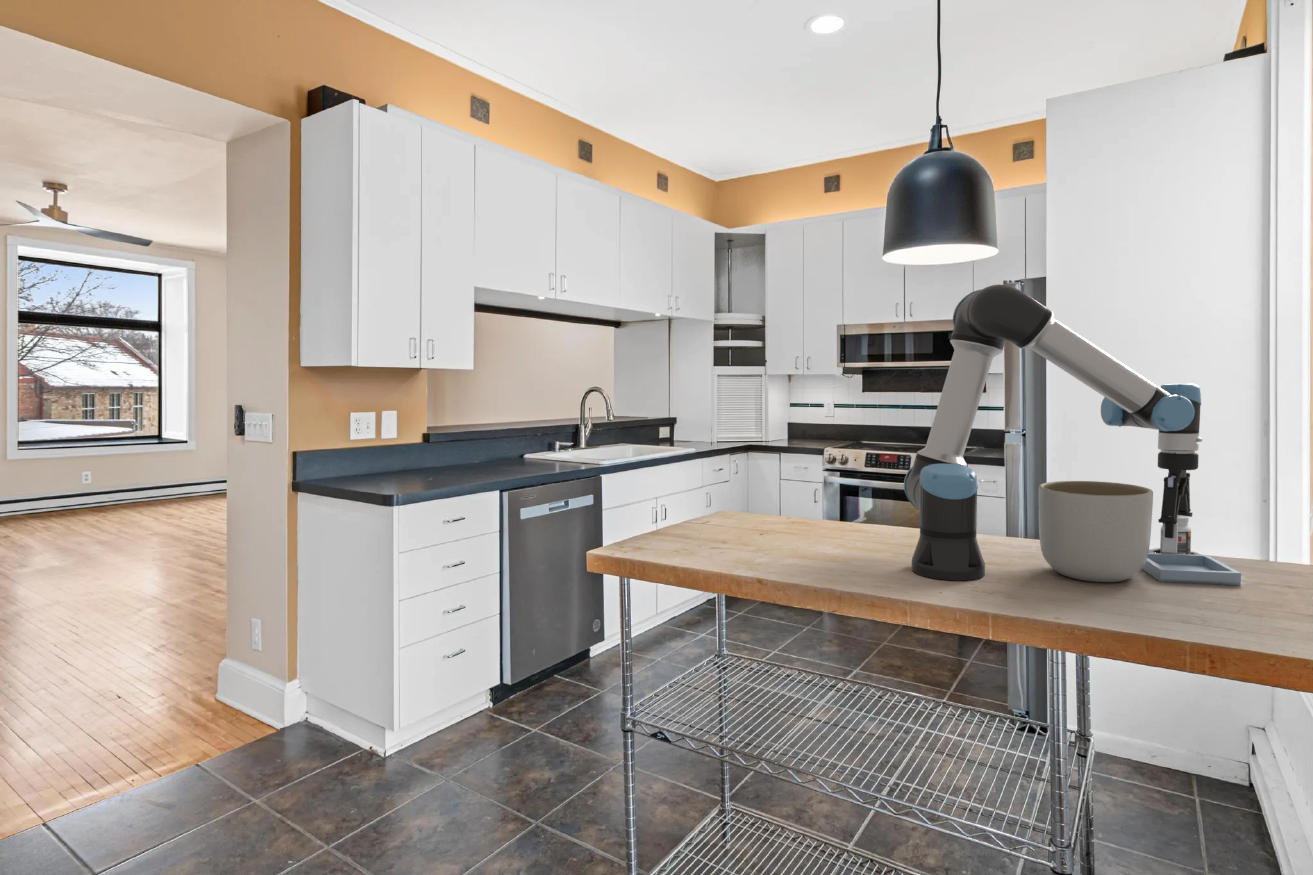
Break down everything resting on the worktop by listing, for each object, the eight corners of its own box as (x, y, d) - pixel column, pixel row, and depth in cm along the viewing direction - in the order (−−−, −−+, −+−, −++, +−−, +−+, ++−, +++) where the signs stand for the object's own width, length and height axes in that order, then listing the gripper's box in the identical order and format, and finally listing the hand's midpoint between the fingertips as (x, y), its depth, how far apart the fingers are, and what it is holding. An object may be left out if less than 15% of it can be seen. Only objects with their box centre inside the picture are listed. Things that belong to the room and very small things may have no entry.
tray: (1160, 581, 149) (1160, 569, 149) (1134, 563, 164) (1134, 552, 163) (1240, 585, 145) (1241, 573, 145) (1206, 566, 160) (1207, 555, 160)
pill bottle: (1195, 562, 163) (1196, 518, 162) (1167, 561, 164) (1168, 518, 164) (1182, 556, 169) (1183, 514, 168) (1155, 555, 170) (1156, 513, 169)
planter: (1133, 565, 162) (1136, 481, 160) (1164, 592, 142) (1168, 497, 140) (1030, 560, 168) (1031, 479, 167) (1046, 585, 149) (1048, 494, 147)
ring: (1158, 563, 163) (1158, 557, 163) (1142, 552, 173) (1142, 547, 173) (1210, 565, 160) (1210, 559, 160) (1190, 554, 170) (1191, 549, 170)
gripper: (1187, 456, 154) (1184, 559, 155) (1208, 448, 170) (1204, 542, 171) (1146, 454, 159) (1143, 553, 161) (1169, 447, 175) (1166, 537, 177)
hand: (1174, 547), depth 166 cm, fingers open, 10 cm apart
